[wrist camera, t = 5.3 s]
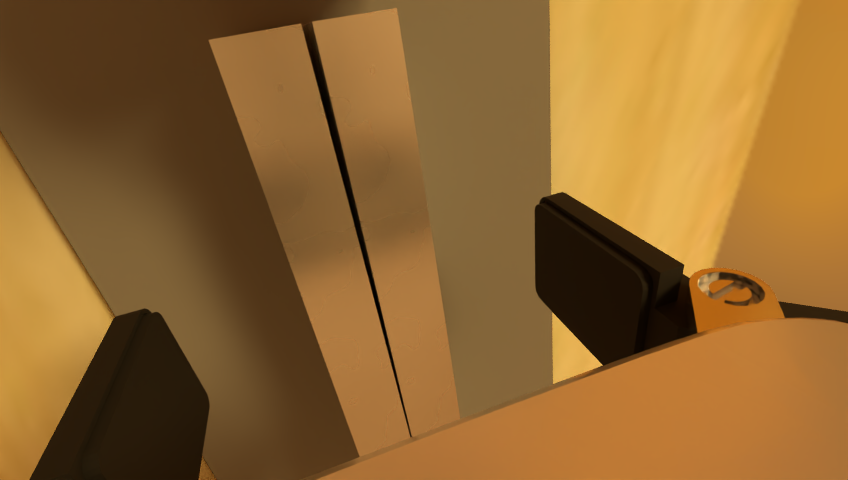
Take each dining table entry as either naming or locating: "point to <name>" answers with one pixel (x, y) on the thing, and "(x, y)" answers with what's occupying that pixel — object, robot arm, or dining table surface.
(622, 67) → the dining table surface
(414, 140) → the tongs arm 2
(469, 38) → the mat
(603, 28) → the dining table surface
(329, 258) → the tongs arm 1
